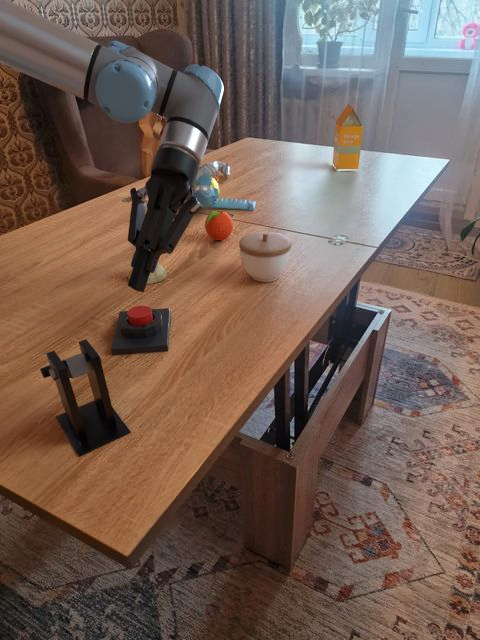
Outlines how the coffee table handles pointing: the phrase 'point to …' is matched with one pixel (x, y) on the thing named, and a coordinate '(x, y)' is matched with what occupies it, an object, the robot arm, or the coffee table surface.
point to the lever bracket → (87, 405)
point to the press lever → (71, 367)
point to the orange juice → (347, 140)
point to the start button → (140, 315)
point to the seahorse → (214, 169)
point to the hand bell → (155, 274)
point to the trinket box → (265, 255)
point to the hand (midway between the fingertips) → (135, 288)
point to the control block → (142, 334)
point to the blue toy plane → (216, 195)
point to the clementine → (219, 225)
